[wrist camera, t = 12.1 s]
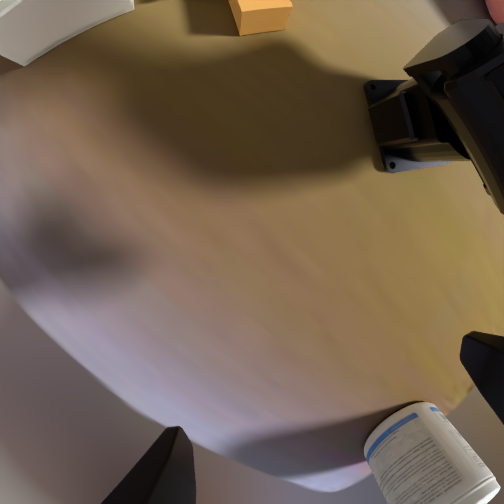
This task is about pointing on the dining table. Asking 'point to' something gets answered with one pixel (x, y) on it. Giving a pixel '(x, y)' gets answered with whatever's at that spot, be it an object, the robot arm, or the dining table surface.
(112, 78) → the dining table surface
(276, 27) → the lid
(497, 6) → the cell model
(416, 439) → the supplement tub
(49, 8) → the tub
